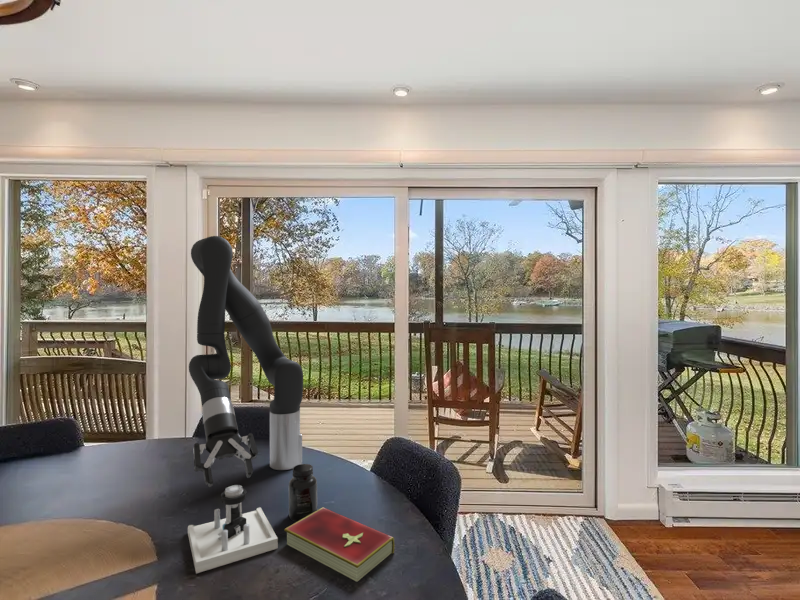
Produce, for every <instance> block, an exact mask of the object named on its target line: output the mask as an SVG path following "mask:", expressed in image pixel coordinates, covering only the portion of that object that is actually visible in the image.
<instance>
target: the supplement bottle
mask: <svg viewBox="0 0 800 600" xmlns="http://www.w3.org/2000/svg"><path fill="white" fill-rule="evenodd" d="M313 467H314V466H313V465H312V464H308V463H302V464H300V465H297V466H295V467H293V468H292V477H291V479H289V482H288V517H289V519H290V520H291V521H293V522H294V523H296V522H298V521H299V520H301V519H303V518H305V517H306V516H308V515H310V514H312V513H313V512H315V511H317V510H318V481H317V477H316V476H314V468H313Z"/></svg>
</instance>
